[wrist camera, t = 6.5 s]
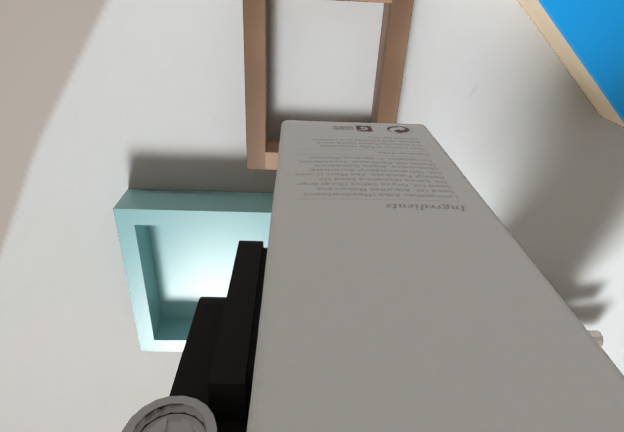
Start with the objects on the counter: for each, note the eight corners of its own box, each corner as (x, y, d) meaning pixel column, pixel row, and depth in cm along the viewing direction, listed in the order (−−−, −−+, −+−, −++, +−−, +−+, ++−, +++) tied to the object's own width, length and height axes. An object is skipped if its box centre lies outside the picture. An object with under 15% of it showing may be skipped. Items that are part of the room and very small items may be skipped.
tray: (308, 194, 32) (309, 213, 30) (301, 326, 39) (302, 352, 36) (127, 189, 32) (113, 208, 29) (151, 324, 38) (140, 350, 35)
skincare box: (277, 115, 13) (181, 840, 2) (425, 120, 13) (1027, 800, 2) (277, 286, 15) (237, 944, 5) (397, 287, 16) (602, 922, 5)
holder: (407, -21, 26) (416, -21, 24) (382, 160, 31) (388, 173, 29) (246, -30, 25) (242, -30, 23) (250, 156, 31) (247, 168, 29)
